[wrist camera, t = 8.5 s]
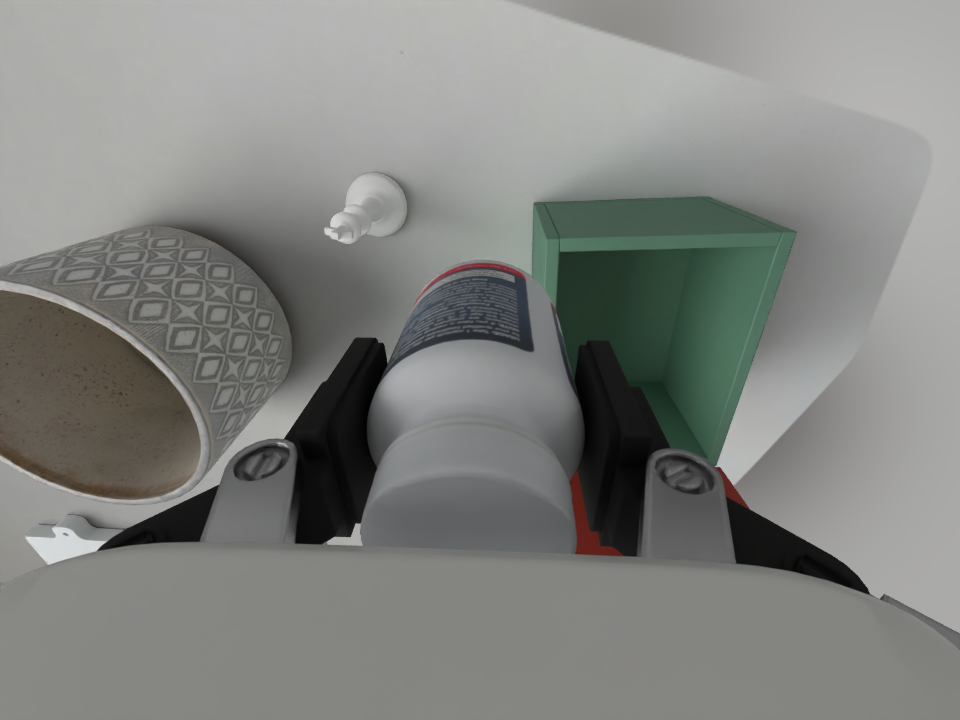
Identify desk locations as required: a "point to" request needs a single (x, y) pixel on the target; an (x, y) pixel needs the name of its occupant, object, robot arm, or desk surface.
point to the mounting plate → (68, 538)
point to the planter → (133, 362)
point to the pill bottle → (476, 421)
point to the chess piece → (369, 209)
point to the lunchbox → (665, 299)
